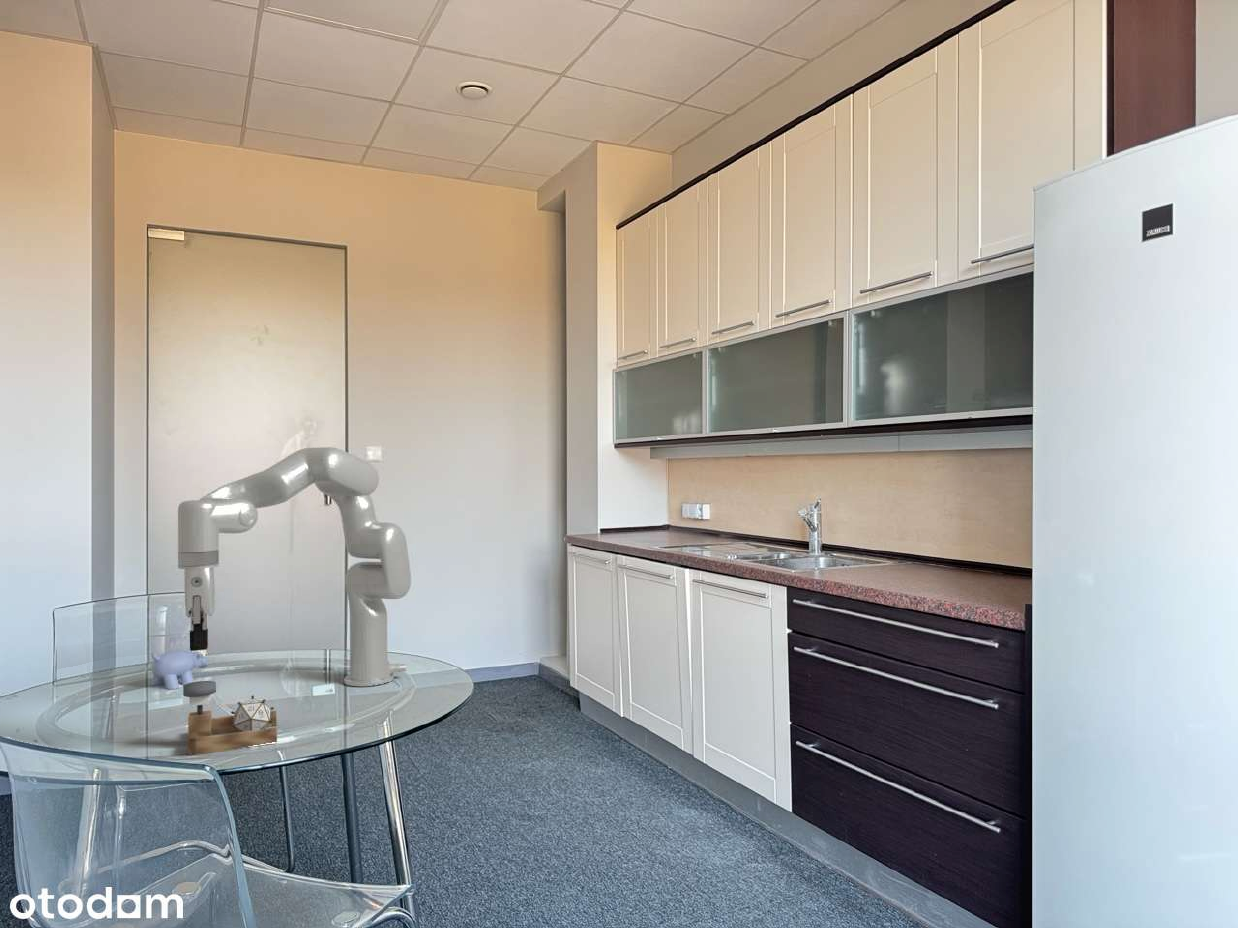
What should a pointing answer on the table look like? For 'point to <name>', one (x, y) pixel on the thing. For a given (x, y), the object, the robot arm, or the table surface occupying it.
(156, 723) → the table surface
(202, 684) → the wheel
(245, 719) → the game die
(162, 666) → the hippopotamus toy
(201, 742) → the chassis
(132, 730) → the table surface
